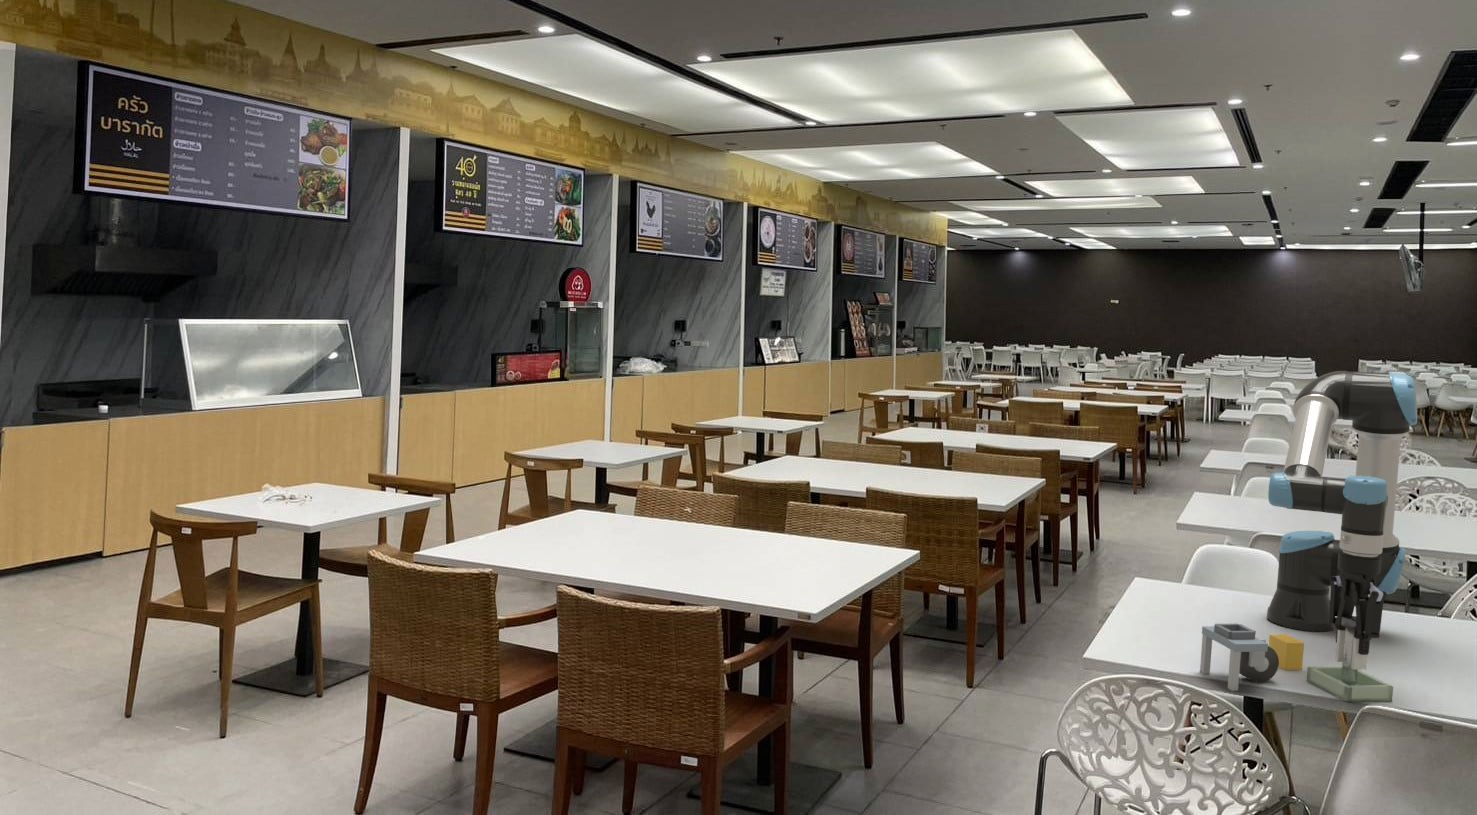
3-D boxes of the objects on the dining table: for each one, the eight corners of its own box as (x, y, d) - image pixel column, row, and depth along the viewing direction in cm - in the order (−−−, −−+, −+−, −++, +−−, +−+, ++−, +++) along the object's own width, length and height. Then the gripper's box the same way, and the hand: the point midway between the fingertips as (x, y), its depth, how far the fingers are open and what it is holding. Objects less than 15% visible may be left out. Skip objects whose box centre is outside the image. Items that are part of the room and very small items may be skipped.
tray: (1349, 680, 223) (1350, 666, 222) (1392, 701, 211) (1393, 686, 211) (1306, 680, 221) (1307, 667, 221) (1346, 702, 209) (1347, 687, 209)
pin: (1350, 684, 218) (1356, 615, 217) (1365, 691, 214) (1371, 621, 213) (1330, 684, 218) (1336, 615, 216) (1345, 692, 213) (1351, 621, 212)
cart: (1199, 671, 225) (1202, 619, 224) (1255, 670, 227) (1259, 619, 226) (1232, 691, 214) (1236, 637, 213) (1291, 690, 215) (1295, 636, 214)
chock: (1284, 660, 235) (1286, 634, 234) (1301, 669, 229) (1304, 642, 228) (1267, 660, 234) (1269, 634, 234) (1284, 670, 228) (1287, 643, 228)
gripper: (1314, 543, 221) (1305, 651, 223) (1373, 562, 204) (1363, 679, 207) (1347, 543, 222) (1338, 651, 224) (1408, 562, 206) (1398, 679, 208)
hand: (1350, 664), depth 216 cm, fingers open, 4 cm apart
